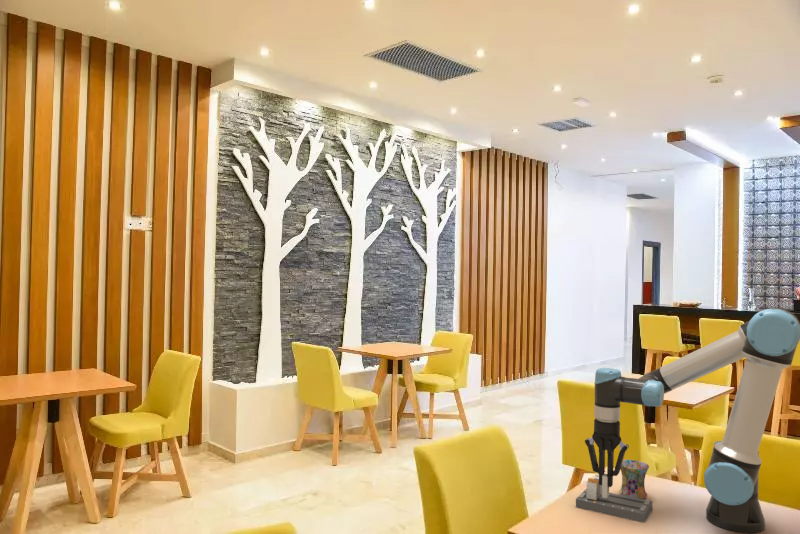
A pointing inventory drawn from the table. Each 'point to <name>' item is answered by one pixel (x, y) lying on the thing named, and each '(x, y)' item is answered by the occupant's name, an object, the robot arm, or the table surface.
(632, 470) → the mug
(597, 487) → the fader
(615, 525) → the table surface
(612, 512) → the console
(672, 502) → the table surface
